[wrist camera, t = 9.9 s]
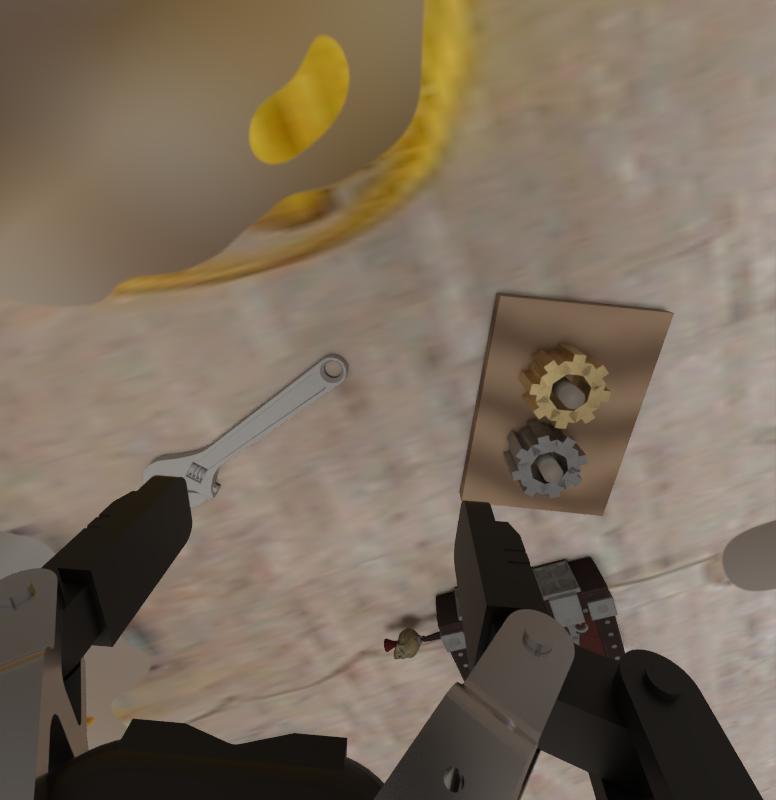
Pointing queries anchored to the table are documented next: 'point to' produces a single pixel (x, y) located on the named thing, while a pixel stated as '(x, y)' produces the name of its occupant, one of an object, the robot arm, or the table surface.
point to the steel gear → (542, 441)
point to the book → (566, 603)
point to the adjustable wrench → (245, 433)
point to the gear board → (511, 410)
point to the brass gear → (554, 368)
